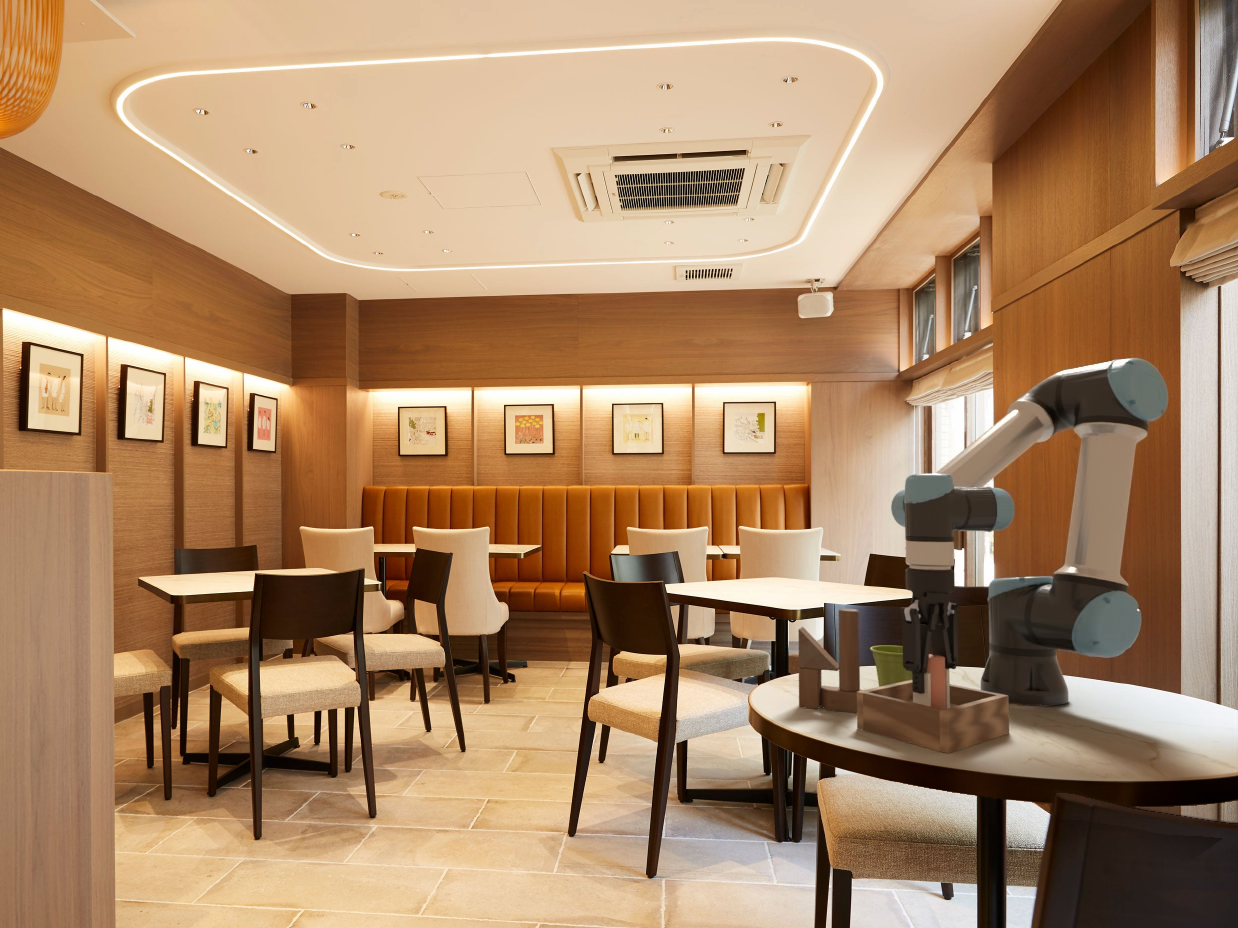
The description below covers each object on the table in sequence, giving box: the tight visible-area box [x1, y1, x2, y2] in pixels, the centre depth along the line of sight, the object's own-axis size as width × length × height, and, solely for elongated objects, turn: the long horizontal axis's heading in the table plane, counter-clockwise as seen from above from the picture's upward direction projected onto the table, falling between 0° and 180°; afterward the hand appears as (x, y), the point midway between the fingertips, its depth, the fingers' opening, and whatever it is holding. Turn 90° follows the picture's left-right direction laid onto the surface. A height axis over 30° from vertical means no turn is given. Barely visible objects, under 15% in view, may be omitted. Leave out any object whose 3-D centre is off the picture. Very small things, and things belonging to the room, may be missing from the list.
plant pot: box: [869, 645, 912, 687], centre depth 154 cm, size 9×9×9 cm
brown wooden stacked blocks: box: [797, 608, 863, 714], centre depth 143 cm, size 4×11×18 cm, turn 66°
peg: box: [926, 653, 946, 709], centre depth 128 cm, size 4×4×12 cm
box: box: [856, 680, 1010, 754], centre depth 128 cm, size 18×16×6 cm
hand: (931, 710), depth 128 cm, fingers open, 5 cm apart
